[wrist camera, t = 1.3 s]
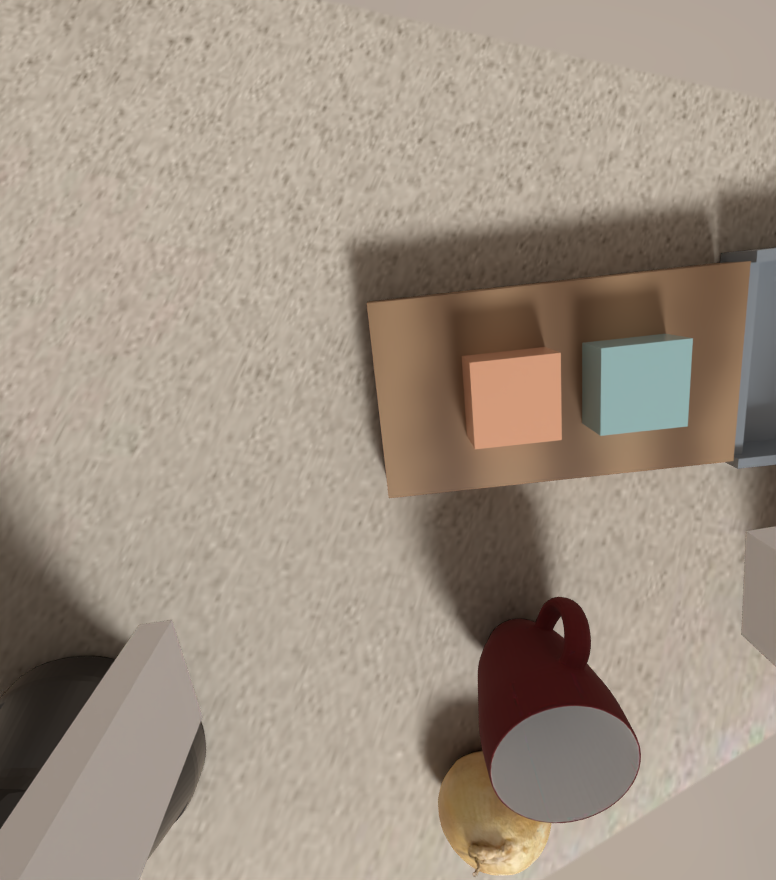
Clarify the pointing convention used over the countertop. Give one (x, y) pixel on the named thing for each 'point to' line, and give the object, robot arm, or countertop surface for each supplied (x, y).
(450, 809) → the onion
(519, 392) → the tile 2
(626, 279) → the tan wooden flat box
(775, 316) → the box
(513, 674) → the mug
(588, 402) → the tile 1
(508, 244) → the countertop surface
